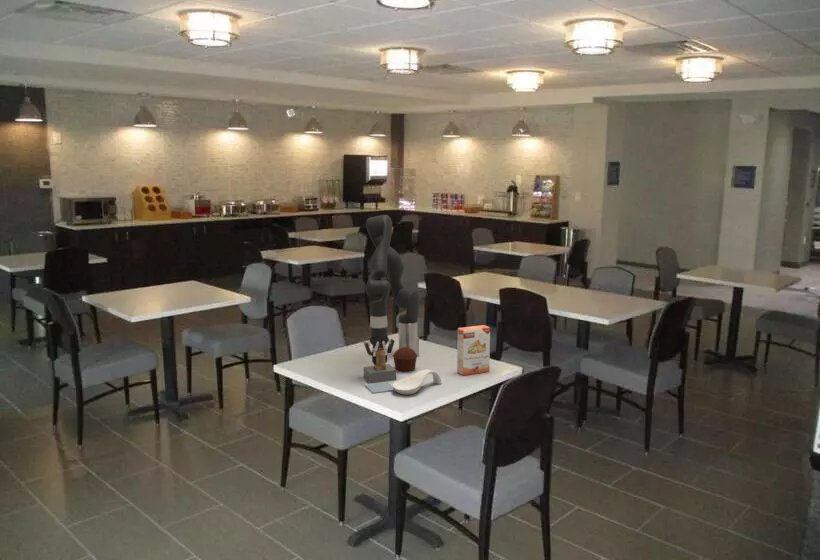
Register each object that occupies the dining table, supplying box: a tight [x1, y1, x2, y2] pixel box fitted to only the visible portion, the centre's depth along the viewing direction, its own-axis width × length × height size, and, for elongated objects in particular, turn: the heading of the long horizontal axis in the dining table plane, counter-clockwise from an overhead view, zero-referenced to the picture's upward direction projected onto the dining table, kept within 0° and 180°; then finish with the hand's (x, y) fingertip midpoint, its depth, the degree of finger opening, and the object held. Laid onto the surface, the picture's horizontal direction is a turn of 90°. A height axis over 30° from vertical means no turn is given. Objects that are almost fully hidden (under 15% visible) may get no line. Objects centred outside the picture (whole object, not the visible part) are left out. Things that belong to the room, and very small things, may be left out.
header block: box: [362, 363, 397, 384], centre depth 288 cm, size 12×10×4 cm
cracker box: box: [456, 324, 491, 376], centre depth 294 cm, size 14×6×21 cm, turn 115°
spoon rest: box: [391, 369, 442, 396], centre depth 274 cm, size 24×12×7 cm, turn 132°
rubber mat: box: [365, 381, 396, 394], centre depth 275 cm, size 10×10×1 cm
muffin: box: [392, 347, 418, 373], centre depth 301 cm, size 12×11×10 cm
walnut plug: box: [373, 348, 387, 371], centre depth 288 cm, size 4×4×12 cm
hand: (379, 363), depth 288 cm, fingers closed on walnut plug, 4 cm apart
